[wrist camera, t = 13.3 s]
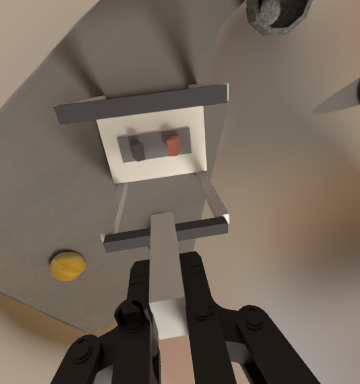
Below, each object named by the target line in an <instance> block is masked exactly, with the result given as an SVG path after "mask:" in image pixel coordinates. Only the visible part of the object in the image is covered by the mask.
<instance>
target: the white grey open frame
mask: <svg viewBox="0 0 360 384" xmlns="http://www.w3.org/2000/svg"><path fill="white" fill-rule="evenodd" d="M220 84H227V100H229V84H228V83H217V84H191V85H188V89H189V88H197V87H205V86H213V85H220ZM102 99H106V96H105V95H104V96H96V97H91V98H87V99H82V100H77V101H73V102H68V103H63V104H71V103H79V102H87V101H94V100H102ZM63 104H58V105H63ZM54 106H57V105H54ZM96 121H97V124H98V128H99V131H100V135H101V138H102V142H103V146H104V149H105V153H106V156H107V160H108V163H109V167H110V170H111V174H112V178H113V181H114V184H118V185H117V187H116V190H115V193H114V196H113V199H112V202H111V204H110V207H109V210H108V213H107V216H106V218H105V221H104V224H103V227H102V230H101V233H100V236H101V239H102V242H103V241H104V238H105V235H109V234H116V233H117V231H118V227H119V223H120V219H121V215H122V211H123V207H124V202H125V198H126V194H127V190H128V184H127V182H132V181H139V180H145V179H152V178H159V177H166V176H173V175H179V174H186V173H193V172H195V173H196V178H197V181H198V183H199V185H200V187H201V189H202V191H203V194H204V196H205V198H206V200H207V202H208V204H209V206H210V209H211V211H212V213H213V215H214V217H215V218H216V217H223V216H224V217H225V218H226V220H227V222H228V224H229V213H228V211H227V209H226V208H225V206H224V204H223V202H222V201H221V199H220V197H219V196H218V194H217V192H216V191H215V189H214V187H213V185H212V184H211V182H210V180H209V179H208V177H207V175H206V174H205V172H204V171H207V168H206V150H205V132H204V114H203V106H198V107H190V108H183V109H175V110H167V111H160V112H152V113H145V114H137V115H129V116H122V117H114V118H107V119H99V120H96ZM171 136H179V140H180V149H181V151H180V153H179V154H178V155H177V156H168V149H167V142H166V141H167V140H168V139H169V138H170V137H171ZM135 141H139V142H140V143H142V144H143V148H144V153H145V158H146V160H143V161H139V162H137V161H136V160H135V159H134V158H133V155H132V151H131V146H130V142H135Z"/></svg>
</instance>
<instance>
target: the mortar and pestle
mask: <svg viewBox="0 0 360 384" xmlns="http://www.w3.org/2000/svg"><path fill="white" fill-rule="evenodd" d="M312 1H313V0H247V2H246V3H247V8H246V12H247V18H248V23H249V24H250V25H251V26H252V27H253V28H255V29H256V30H257V31H258V32H260V33H261V34H262V35H264V36H265V35H282V34H287V33H289V32H290V31H291V30H292V29H294V28H295V27H296V26H297V25H298V24H299V23H300V22H301V21H302V20H304V19H305V18H306V16H307V13H308V11H309V8H310V6H311V3H312Z"/></svg>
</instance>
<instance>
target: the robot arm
mask: <svg viewBox="0 0 360 384" xmlns="http://www.w3.org/2000/svg"><path fill="white" fill-rule="evenodd" d="M114 317H115V319H116V321H117V324H118V326H117V327H115V328H114V329H113V330H111V331H110V332H108V333H106V334H104V335H102V336H100V337H98V338H97V337H96V336H95V335H91V334H90V335H84V336H82V337H81V338H79V339H77V340H76V341H75V342H74V343H73V344H72V345H71V347H70V348H69V349H68V351H67V353H66V355H65V357H64V359H63V361H62V362H61V364H60V366H59V368H58V370H57V372H56V374H55V376H54V378H53V380H52V382H51V384H161V364H160V363H161V361H160V350H159V346H158V336H159V339H165V338H171V337H177V336H182V335H187V334H189V339H190V347H191V355H192V361H193V370H194V377H195V384H237V383H236V380H235V375H234V372H233V368H232V365H231V361H233V362H237V363H239V364H240V365H241V367H242V369H243V371H244V373H245V375H246V377H247V379H248V381H249V383H250V384H320V382H319V381H318V380H317V378H316V377H315V376H314V375H313V373H312V372H311V371H310V369H309V368H308V367H307V365H306V364H305V363H304V361H303V360H302V359H301V358H300V356H299V355H298V354H297V353H296V351H295V350H294V348H293V347H292V346H291V344H290V343H289V342H288V341H287V339H286V338H285V337H284V335H283V334H282V333H281V331H280V330H279V329H278V328H277V326H276V325H275V324H274V322H273V321H272V320H271V318H270V317H269V316H268V314H267V313H265V311H264V310H262V309H261V308H259V307H257V306H252V305H247V306H243V307H242V308H241V309H239V311H236V310H229V309H225V308H222V307H220V306H219V305H218V304H216V303H215V302H214V300H213V298H212V296H211V293H210V289H209V285H208V281H207V278H206V274H205V270H204V266H203V263H202V259H201V257H200V255H199V254H198V253H197V252H196V251H193V252H187V253H181V254H179V249H178V242H177V236H176V230H175V223H174V217H173V212H168V213H162V214H156V215H151V238H150V259H149V260H143V261H137V262H135V263H134V265H133V266H132V268H131V271H130V279H129V287H128V294H127V300H125V301H124V302H122V303H121V304H120V305H119V306H118V307H117V309H116V311H115V314H114Z"/></svg>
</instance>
